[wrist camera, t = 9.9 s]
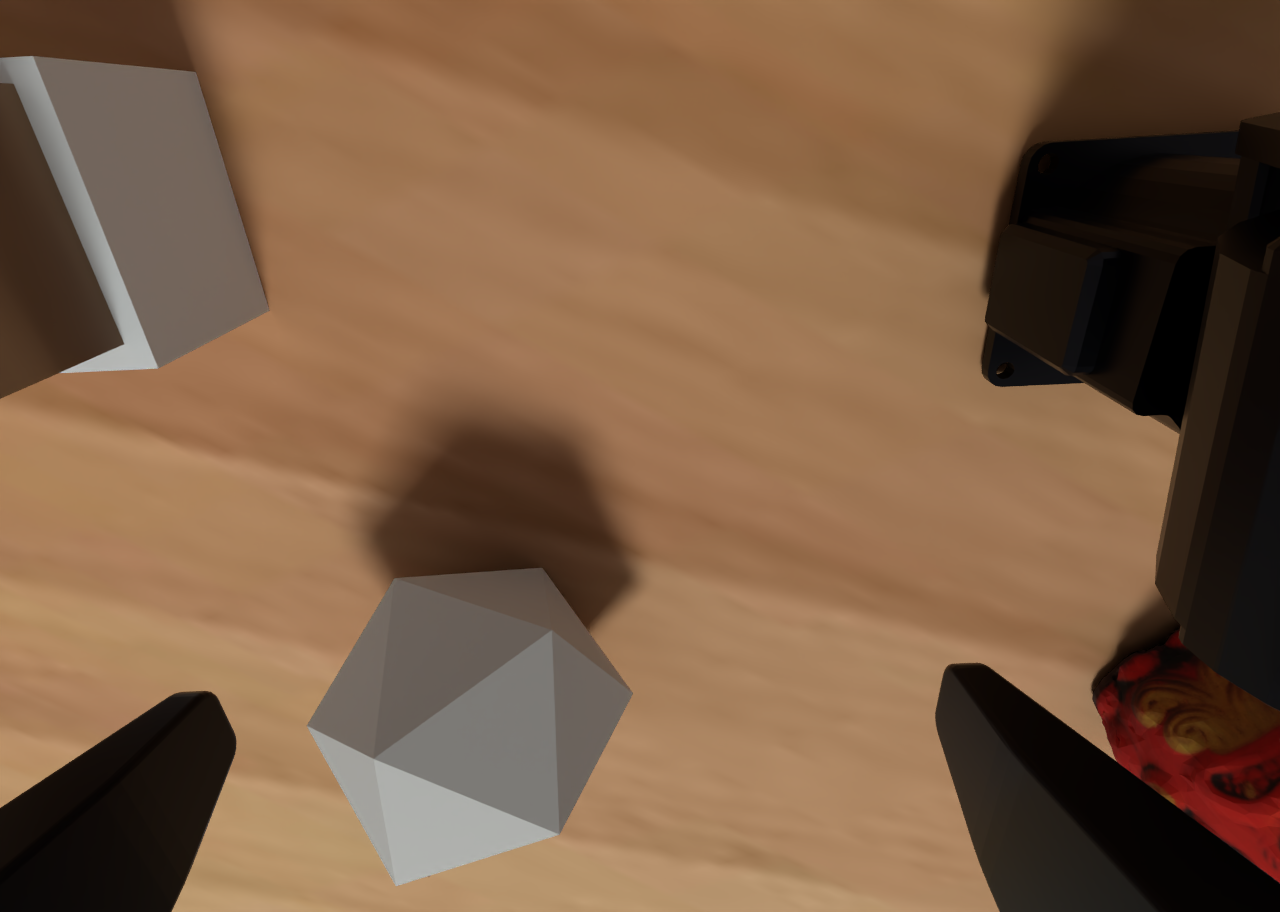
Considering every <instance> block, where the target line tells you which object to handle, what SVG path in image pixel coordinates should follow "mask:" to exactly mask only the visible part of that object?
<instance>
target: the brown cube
mask: <svg viewBox="0 0 1280 912" xmlns="http://www.w3.org/2000/svg"><path fill="white" fill-rule="evenodd" d="M121 345H124V342H123V340H122V337H121V335H120V333H119V330H118V328H117V326H116V323H115V321H114V318H113V316H112V314H111V311H110V309H109V307H108V304H107V302H106V300H105V297H104V295H103V293H102V290H101V288H100V286H99V283H98V281H97V279H96V276H95V274H94V271H93V269H92V267H91V264H90V262H89V260H88V257H87V255H86V253H85V250H84V248H83V246H82V243H81V241H80V239H79V236H78V234H77V231H76V229H75V227H74V224H73V222H72V220H71V217H70V215H69V213H68V210H67V208H66V206H65V203H64V201H63V199H62V196H61V194H60V191H59V189H58V187H57V184H56V182H55V180H54V177H53V175H52V173H51V170H50V168H49V166H48V163H47V161H46V159H45V156H44V154H43V152H42V149H41V147H40V144H39V142H38V140H37V137H36V135H35V133H34V130H33V128H32V126H31V123H30V121H29V119H28V116H27V114H26V112H25V109H24V107H23V104H22V102H21V100H20V97H19V95H18V93H17V90H16V88H15V86H14V84H10V83H0V398H3V397H5V396H7V395H10V394H12V393H14V392H16V391H19V390H21V389H23V388H26V387H28V386H30V385H32V384H35V383H37V382H39V381H42V380H44V379H46V378H48V377H51V376H53V375H55V374H58V373H60V372H62V371H64V370H67V369H69V368H71V367H74V366H76V365H78V364H80V363H83V362H85V361H87V360H90V359H92V358H94V357H96V356H99V355H101V354H103V353H106V352H108V351H110V350H112V349H115V348H117V347H119V346H121Z"/></svg>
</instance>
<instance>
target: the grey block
mask: <svg viewBox="0 0 1280 912" xmlns="http://www.w3.org/2000/svg"><path fill="white" fill-rule="evenodd" d="M0 83H10V84H14V86H15V88H16V90H17V93H18V95H19V97H20V100H21V102H22V104H23V107H24V109H25V112H26V114H27V116H28V119H29V121H30V123H31V126H32V128H33V130H34V133H35V135H36V137H37V140H38V142H39V144H40V147H41V149H42V152H43V154H44V156H45V159H46V161H47V163H48V166H49V168H50V170H51V173H52V175H53V177H54V180H55V182H56V184H57V187H58V189H59V191H60V194H61V196H62V199H63V201H64V203H65V206H66V208H67V210H68V213H69V215H70V217H71V220H72V222H73V224H74V227H75V229H76V231H77V234H78V236H79V239H80V241H81V243H82V246H83V248H84V250H85V253H86V255H87V257H88V260H89V262H90V264H91V267H92V269H93V271H94V274H95V276H96V279H97V281H98V283H99V286H100V288H101V290H102V293H103V295H104V297H105V300H106V302H107V304H108V307H109V309H110V311H111V314H112V316H113V318H114V321H115V323H116V326H117V328H118V330H119V333H120V335H121V337H122V340H123V342H124V345H121V346H119V347H117V348H115V349H112V350H110V351H108V352H106V353H103V354H101V355H99V356H96V357H94V358H92V359H90V360H87V361H85V362H83V363H80V364H78V365H76V366H74V367H71V368H69V369H67V370H64V371H62V372H60V373H71V372H92V371H114V370H135V369H157V368H160V367H162V366H164V365H166V364H168V363H170V362H172V361H174V360H175V359H177V358H179V357H181V356H183V355H185V354H187V353H189V352H191V351H193V350H195V349H197V348H199V347H201V346H202V345H204V344H206V343H208V342H210V341H212V340H214V339H216V338H218V337H220V336H222V335H224V334H226V333H227V332H229V331H231V330H233V329H235V328H237V327H239V326H241V325H243V324H245V323H247V322H249V321H251V320H253V319H254V318H256V317H258V316H260V315H262V314H264V313H266V312H268V311H270V310H269V307H268V304H267V301H266V297H265V294H264V291H263V288H262V285H261V281H260V278H259V275H258V272H257V268H256V265H255V262H254V259H253V255H252V252H251V249H250V246H249V242H248V239H247V236H246V233H245V230H244V226H243V223H242V220H241V217H240V213H239V210H238V207H237V204H236V200H235V197H234V194H233V191H232V187H231V184H230V181H229V178H228V175H227V171H226V168H225V165H224V162H223V158H222V155H221V152H220V149H219V145H218V142H217V139H216V136H215V132H214V129H213V126H212V123H211V120H210V116H209V113H208V110H207V107H206V103H205V100H204V97H203V94H202V90H201V87H200V84H199V81H198V77H197V74H196V72H192V71H182V70H171V69H161V68H151V67H141V66H131V65H120V64H110V63H100V62H90V61H79V60H69V59H59V58H49V57H39V56H23V57H7V58H0Z"/></svg>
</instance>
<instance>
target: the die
mask: <svg viewBox="0 0 1280 912" xmlns="http://www.w3.org/2000/svg"><path fill="white" fill-rule="evenodd" d="M632 694H633V693H632V691H631V690H630V689H629V687H628V686H627V684H626V683H625V682H624V680H623V679H622V677H621V676H620V675H619V673H618V672H617V671H616V669H615V668H614V666H613V665H612V664H611V662H610V661H609V659H608V658H607V657H606V655H605V654H604V653H603V651H602V650H601V648H600V647H599V646H598V644H597V643H596V641H595V640H594V639H593V637H592V636H591V635H590V633H589V632H588V630H587V629H586V628H585V626H584V625H583V623H582V622H581V621H580V619H579V618H578V617H577V615H576V614H575V612H574V611H573V610H572V608H571V607H570V605H569V604H568V603H567V601H566V600H565V599H564V597H563V596H562V594H561V593H560V592H559V590H558V589H557V587H556V586H555V585H554V583H553V582H552V580H551V579H550V578H549V576H548V575H547V574H546V572H545V571H544V569H543V568H529V569H515V570H501V571H487V572H473V573H459V574H445V575H431V576H417V577H403V578H394V580H393V582H392V583H391V585H390V587H389V588H388V590H387V592H386V593H385V595H384V597H383V599H382V600H381V602H380V604H379V605H378V607H377V609H376V610H375V612H374V614H373V615H372V617H371V619H370V620H369V622H368V624H367V625H366V627H365V629H364V630H363V632H362V634H361V636H360V637H359V639H358V641H357V642H356V644H355V646H354V647H353V649H352V651H351V652H350V654H349V656H348V657H347V659H346V661H345V662H344V664H343V666H342V667H341V669H340V671H339V673H338V674H337V676H336V678H335V679H334V681H333V683H332V684H331V686H330V688H329V689H328V691H327V693H326V694H325V696H324V698H323V699H322V701H321V703H320V704H319V706H318V708H317V709H316V711H315V713H314V715H313V716H312V718H311V720H310V721H309V723H308V725H307V727H308V729H309V731H310V732H311V734H312V736H313V738H314V740H315V741H316V743H317V745H318V747H319V749H320V750H321V752H322V754H323V756H324V758H325V759H326V761H327V763H328V765H329V767H330V768H331V770H332V772H333V774H334V776H335V777H336V779H337V781H338V783H339V785H340V786H341V788H342V790H343V792H344V794H345V795H346V797H347V799H348V801H349V803H350V804H351V806H352V808H353V810H354V812H355V813H356V815H357V817H358V819H359V821H360V822H361V824H362V826H363V828H364V830H365V831H366V833H367V835H368V837H369V839H370V840H371V842H372V844H373V846H374V848H375V849H376V851H377V853H378V855H379V856H380V858H381V860H382V862H383V864H384V865H385V867H386V869H387V871H388V873H389V874H390V876H391V878H392V880H393V882H394V883H395V885H396V886H398V885H401V884H405V883H408V882H411V881H414V880H417V879H420V878H424V877H427V876H430V875H433V874H436V873H439V872H443V871H446V870H449V869H452V868H455V867H458V866H462V865H465V864H468V863H471V862H474V861H477V860H481V859H484V858H487V857H490V856H493V855H496V854H500V853H503V852H506V851H509V850H512V849H515V848H518V847H522V846H525V845H528V844H531V843H534V842H537V841H541V840H544V839H547V838H550V837H553V836H556V835H559V834H560V833H561V831H562V829H563V827H564V825H565V823H566V821H567V819H568V817H569V815H570V813H571V811H572V810H573V808H574V806H575V804H576V802H577V800H578V798H579V796H580V794H581V792H582V790H583V788H584V787H585V785H586V783H587V781H588V779H589V777H590V775H591V773H592V771H593V769H594V767H595V765H596V764H597V762H598V760H599V758H600V756H601V754H602V752H603V750H604V748H605V746H606V744H607V742H608V740H609V739H610V737H611V735H612V733H613V731H614V729H615V727H616V725H617V723H618V721H619V719H620V717H621V716H622V714H623V712H624V710H625V708H626V706H627V704H628V702H629V700H630V698H631V696H632Z"/></svg>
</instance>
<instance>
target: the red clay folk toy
mask: <svg viewBox="0 0 1280 912" xmlns="http://www.w3.org/2000/svg"><path fill="white" fill-rule="evenodd" d="M1179 631H1180V629H1178V630H1177V631H1176V632H1174V633H1173V634H1172V635H1170V637H1169V638H1168V640H1167V641H1166V643H1165V644H1164V645H1162V646H1159V645H1158V646H1155V647H1154V648H1153V649H1149V650H1148V651H1147V652H1146V650H1145V649H1144V650H1142V651H1139V652H1136V653H1133V654H1131V655H1130V656H1129V657H1127V658H1125V659H1124V660H1122V661H1121V662H1120V663H1119V664H1118V665H1117V666H1116V667H1115V668H1114V669H1113V670H1112V671H1111V672H1110V673H1109V674H1108V675H1107V676H1106V677H1105V678H1103V679H1102V680H1101V682H1100V683H1099V684H1098V686H1097V687H1096V689H1095V690H1094V692H1093V698H1092V699H1093V702H1094V704H1095V706H1096V708H1097V711H1098V713H1099V714H1100V716H1101V718H1102V723H1103V725H1104V727H1105V730H1106V733H1107V738H1108V741H1109V743H1110V745H1111V747H1112V751H1113V754H1114V756H1115V759H1116V760H1117V762H1118V763H1119V764H1120V765H1122V766H1123V767H1124V768H1126V769H1127V770H1128V771H1130V772H1131V773H1132V774H1134V775H1135V776H1136V777H1138V778H1139V779H1141V780H1142V781H1143V782H1145V783H1146V784H1147V785H1149V786H1150V787H1151V788H1153V789H1154V790H1155V791H1157V792H1158V793H1159V794H1161V795H1162V796H1163V797H1165V798H1166V799H1167V800H1169V801H1170V802H1172V803H1173V804H1174V805H1176V806H1177V807H1178V808H1180V809H1181V810H1182V811H1184V812H1185V813H1186V814H1188V815H1189V816H1190V817H1192V818H1193V819H1194V820H1196V821H1197V822H1198V823H1200V824H1201V825H1202V826H1204V827H1205V828H1207V829H1208V830H1209V831H1211V832H1212V833H1213V834H1215V835H1216V836H1217V837H1219V838H1220V839H1221V840H1223V841H1224V842H1225V843H1227V844H1228V845H1229V846H1231V847H1232V848H1233V849H1235V850H1236V851H1238V852H1239V853H1240V854H1242V855H1243V856H1244V857H1246V858H1247V859H1248V860H1250V861H1251V862H1252V863H1254V864H1255V865H1256V866H1258V867H1259V868H1260V869H1262V870H1263V871H1264V872H1266V873H1267V874H1268V875H1270V876H1271V877H1273V878H1274V879H1275V880H1277V881H1278V882H1279V883H1280V711H1278V710H1276V709H1274V708H1272V707H1270V706H1268V705H1267V704H1265V703H1263V702H1262V701H1260V700H1259V699H1257V698H1255V697H1254V696H1252V695H1251V694H1249V693H1247V692H1246V691H1244V690H1243V689H1241V688H1239V687H1238V686H1236V685H1235V684H1233V683H1231V682H1230V681H1228V680H1227V679H1225V678H1223V677H1222V676H1220V675H1219V674H1217V673H1216V672H1214V671H1213V670H1212V669H1211V668H1210V667H1208V666H1207V665H1206V664H1205V663H1204V662H1203V661H1201V660H1200V659H1199V658H1198V657H1197V656H1196V655H1194V654H1193V653H1192V652H1191V651H1190V650H1189V649H1188V648H1186V647H1185V646H1184V645H1183V644H1182V643H1181V641H1180V639H1179Z"/></svg>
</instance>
